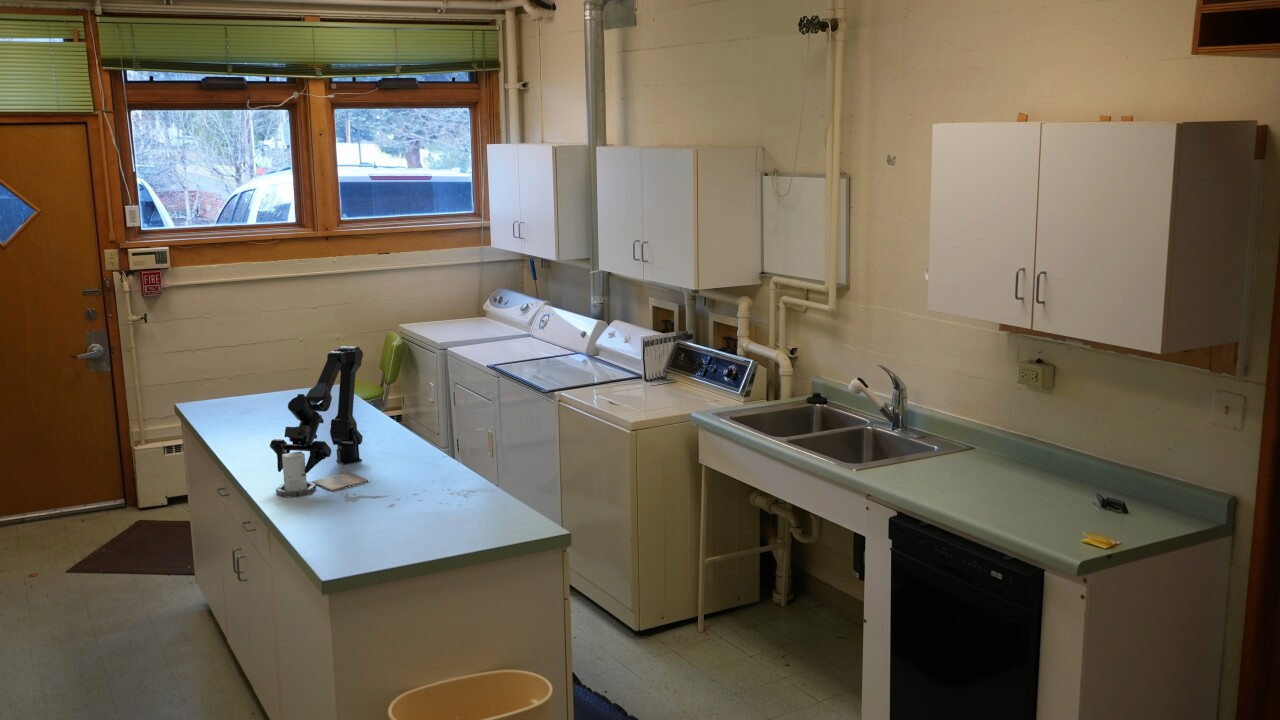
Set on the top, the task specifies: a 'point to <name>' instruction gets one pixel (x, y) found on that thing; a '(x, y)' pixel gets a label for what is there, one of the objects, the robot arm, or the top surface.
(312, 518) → the top surface
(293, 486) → the skincare box
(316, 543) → the top surface
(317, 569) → the top surface
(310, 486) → the grey octagonal ring
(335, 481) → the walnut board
